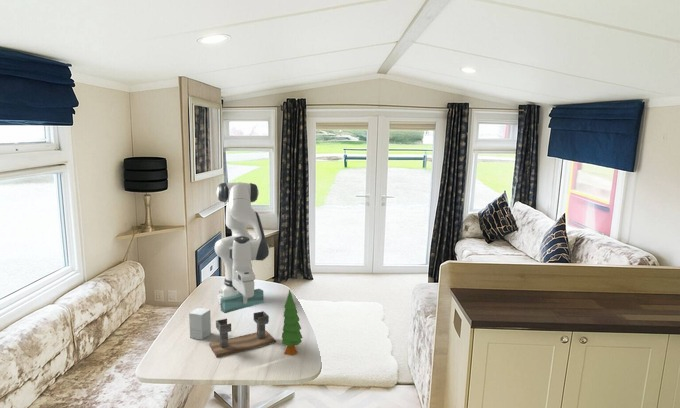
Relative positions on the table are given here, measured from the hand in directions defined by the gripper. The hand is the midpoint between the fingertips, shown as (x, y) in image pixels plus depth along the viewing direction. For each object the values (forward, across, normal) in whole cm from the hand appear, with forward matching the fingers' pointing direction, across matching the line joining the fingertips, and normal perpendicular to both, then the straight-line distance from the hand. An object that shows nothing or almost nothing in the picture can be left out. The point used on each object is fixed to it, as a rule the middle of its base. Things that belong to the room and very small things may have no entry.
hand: (242, 301), depth 192 cm
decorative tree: (+22, +18, +17) cm, 33 cm away
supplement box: (+22, -19, -15) cm, 32 cm away
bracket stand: (+21, 0, 0) cm, 21 cm away
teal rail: (+3, 0, 0) cm, 3 cm away
